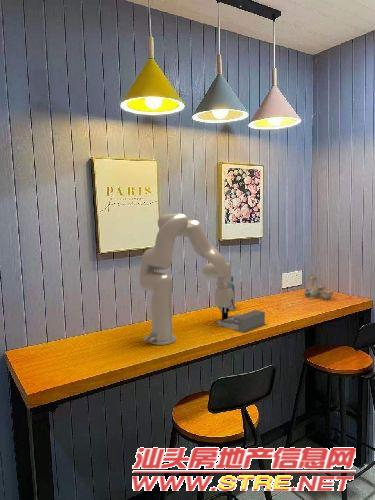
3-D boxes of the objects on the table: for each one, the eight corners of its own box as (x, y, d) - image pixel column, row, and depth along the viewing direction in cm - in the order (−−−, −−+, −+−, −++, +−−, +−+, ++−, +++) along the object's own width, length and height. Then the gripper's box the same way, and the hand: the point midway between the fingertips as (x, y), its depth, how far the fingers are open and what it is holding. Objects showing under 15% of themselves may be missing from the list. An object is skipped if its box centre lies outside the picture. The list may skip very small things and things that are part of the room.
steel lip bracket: (243, 332, 179) (243, 319, 178) (216, 325, 192) (215, 313, 191) (264, 324, 191) (264, 312, 191) (237, 318, 204) (237, 306, 203)
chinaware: (337, 303, 234) (340, 278, 233) (311, 302, 234) (313, 276, 233) (320, 294, 262) (323, 271, 261) (297, 292, 262) (299, 269, 260)
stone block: (222, 328, 192) (239, 327, 186) (220, 319, 192) (237, 318, 187) (232, 323, 202) (249, 322, 196) (231, 314, 202) (247, 313, 197)
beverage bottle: (234, 311, 218) (233, 277, 216) (220, 311, 220) (219, 277, 218) (235, 307, 226) (235, 275, 224) (221, 307, 228) (221, 275, 226)
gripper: (209, 285, 200) (209, 318, 201) (230, 288, 189) (231, 323, 191) (218, 282, 205) (218, 315, 207) (239, 286, 194) (240, 320, 196)
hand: (225, 319), depth 199 cm, fingers closed
